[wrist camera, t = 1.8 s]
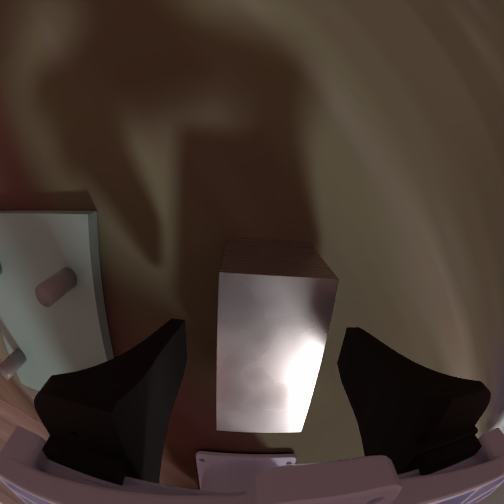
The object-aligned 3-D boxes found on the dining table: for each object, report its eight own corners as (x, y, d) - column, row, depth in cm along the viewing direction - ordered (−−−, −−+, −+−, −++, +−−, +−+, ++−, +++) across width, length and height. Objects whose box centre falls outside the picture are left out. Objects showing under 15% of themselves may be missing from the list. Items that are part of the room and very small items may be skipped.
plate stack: (-42, 404, 21) (-73, 443, 10) (8, 371, 17) (-55, 448, 6) (74, 509, 28) (59, 550, 17) (186, 516, 24) (178, 584, 13)
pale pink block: (288, 370, 17) (300, 431, 12) (222, 367, 16) (216, 430, 12) (309, 242, 14) (338, 279, 10) (228, 236, 14) (219, 272, 9)
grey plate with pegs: (126, 407, 17) (112, 441, 14) (26, 377, 17) (7, 401, 14) (97, 211, 14) (60, 224, 10) (-13, 210, 13) (-48, 221, 10)
